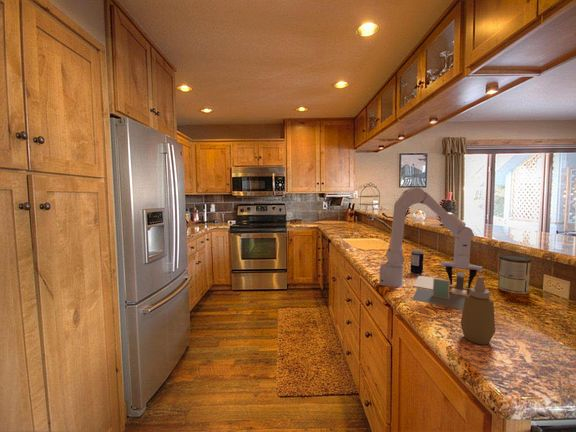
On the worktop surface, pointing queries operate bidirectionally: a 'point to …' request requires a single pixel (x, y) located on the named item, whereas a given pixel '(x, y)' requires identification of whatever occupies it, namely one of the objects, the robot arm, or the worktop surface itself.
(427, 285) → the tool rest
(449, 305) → the mat
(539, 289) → the worktop surface
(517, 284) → the coffee can
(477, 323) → the squeeze bottle
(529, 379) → the worktop surface
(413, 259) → the beverage can
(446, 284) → the tile
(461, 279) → the grey bar
